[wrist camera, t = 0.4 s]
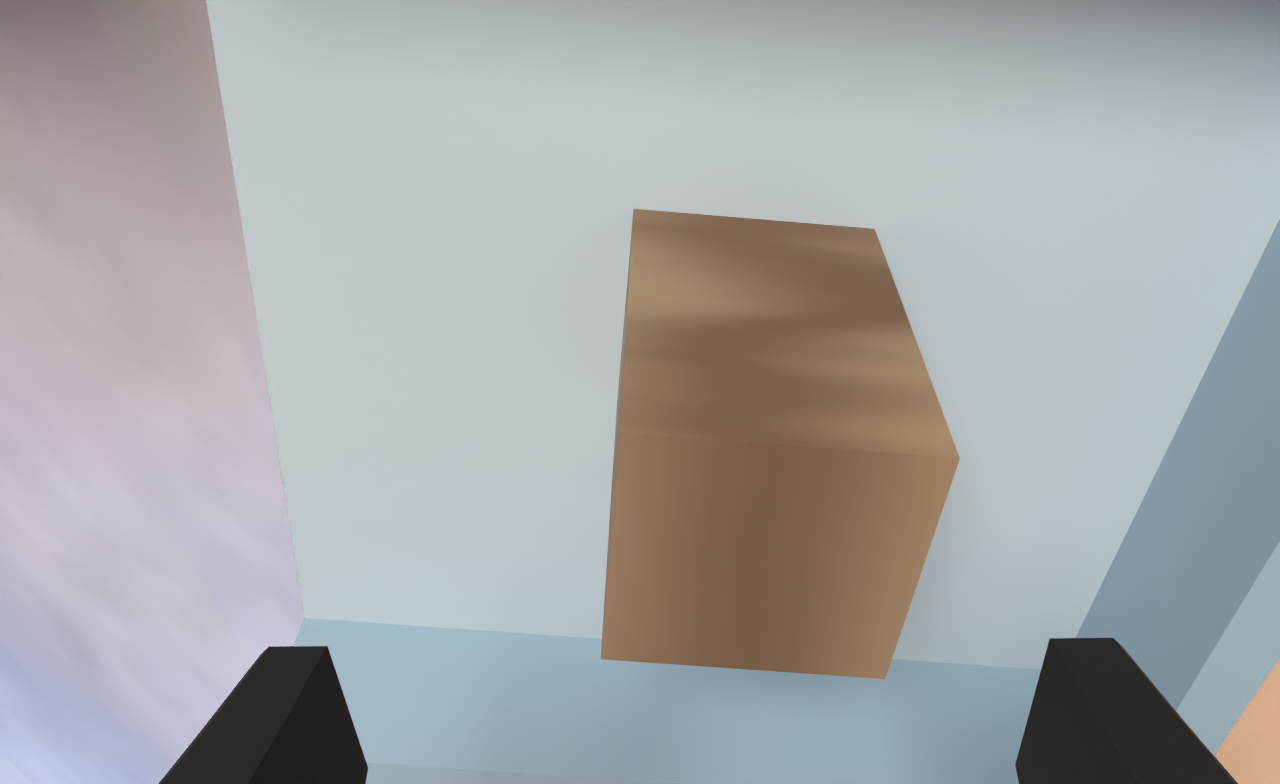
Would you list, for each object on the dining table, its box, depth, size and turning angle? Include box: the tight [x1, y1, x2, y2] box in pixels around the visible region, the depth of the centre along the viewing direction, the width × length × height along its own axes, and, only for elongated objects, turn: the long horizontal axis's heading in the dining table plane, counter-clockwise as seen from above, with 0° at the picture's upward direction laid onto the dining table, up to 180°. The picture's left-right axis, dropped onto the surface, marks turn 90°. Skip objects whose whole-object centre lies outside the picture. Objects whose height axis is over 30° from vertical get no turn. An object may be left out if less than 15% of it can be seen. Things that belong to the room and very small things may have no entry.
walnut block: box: [601, 209, 960, 679], centre depth 16 cm, size 4×4×6 cm
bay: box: [206, 0, 1280, 784], centre depth 17 cm, size 18×19×5 cm
